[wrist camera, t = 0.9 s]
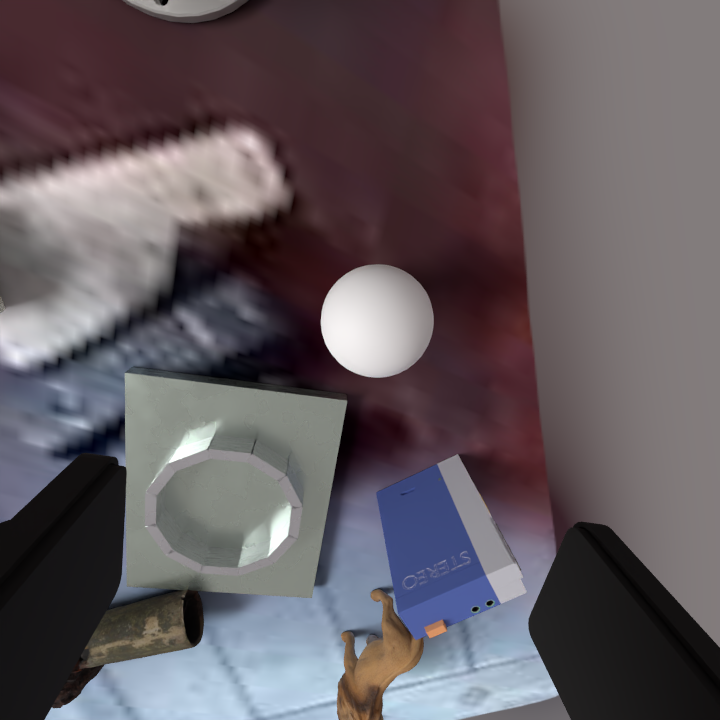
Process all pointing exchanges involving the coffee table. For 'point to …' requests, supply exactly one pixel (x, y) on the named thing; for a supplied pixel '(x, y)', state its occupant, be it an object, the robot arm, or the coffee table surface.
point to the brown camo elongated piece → (137, 636)
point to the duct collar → (227, 482)
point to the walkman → (444, 550)
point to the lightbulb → (377, 320)
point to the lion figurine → (375, 665)
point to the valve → (2, 305)
